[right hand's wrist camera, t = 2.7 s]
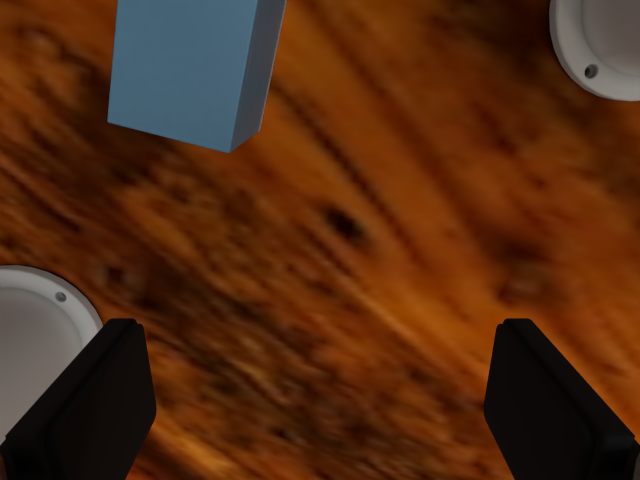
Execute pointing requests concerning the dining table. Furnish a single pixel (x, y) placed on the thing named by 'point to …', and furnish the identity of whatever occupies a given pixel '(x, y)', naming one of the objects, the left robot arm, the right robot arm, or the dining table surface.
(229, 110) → the blue slab
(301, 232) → the dining table surface
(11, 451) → the right robot arm
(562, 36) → the left robot arm
